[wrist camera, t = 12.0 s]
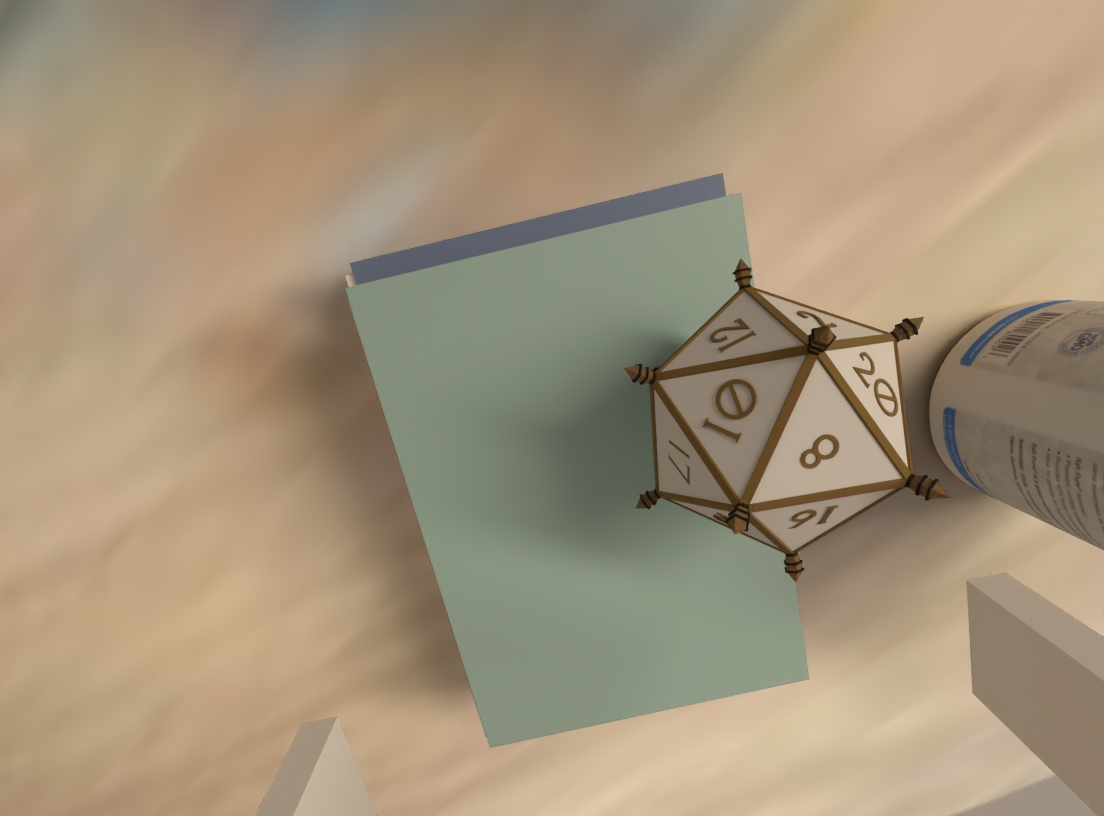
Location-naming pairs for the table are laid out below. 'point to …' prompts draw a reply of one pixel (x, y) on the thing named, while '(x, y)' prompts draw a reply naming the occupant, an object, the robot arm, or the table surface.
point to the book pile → (571, 461)
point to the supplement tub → (1029, 412)
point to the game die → (781, 421)
